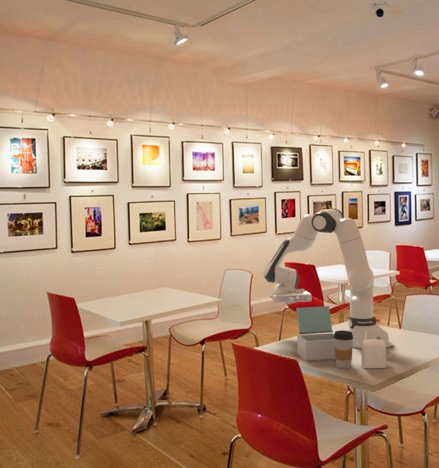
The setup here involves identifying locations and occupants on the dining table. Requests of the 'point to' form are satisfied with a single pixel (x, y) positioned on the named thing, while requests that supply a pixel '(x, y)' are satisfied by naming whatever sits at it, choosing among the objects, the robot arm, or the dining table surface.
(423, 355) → the dining table surface
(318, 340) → the white box
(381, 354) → the photo printer
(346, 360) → the coffee cup
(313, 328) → the cover
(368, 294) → the robot arm
